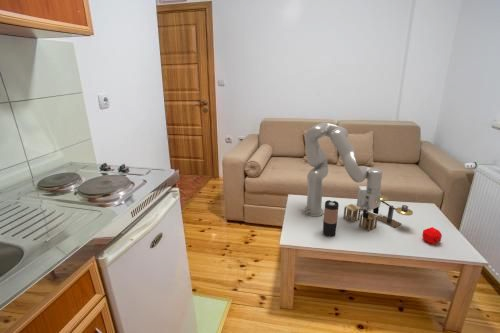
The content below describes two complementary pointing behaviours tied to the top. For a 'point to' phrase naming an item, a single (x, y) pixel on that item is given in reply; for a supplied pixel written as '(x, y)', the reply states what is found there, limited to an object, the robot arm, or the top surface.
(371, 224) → the block
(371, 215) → the cover right
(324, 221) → the travel mug
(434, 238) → the ball
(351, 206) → the wooden slatted crate
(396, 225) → the balance
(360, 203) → the skincare box
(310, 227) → the top surface
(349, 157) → the robot arm
